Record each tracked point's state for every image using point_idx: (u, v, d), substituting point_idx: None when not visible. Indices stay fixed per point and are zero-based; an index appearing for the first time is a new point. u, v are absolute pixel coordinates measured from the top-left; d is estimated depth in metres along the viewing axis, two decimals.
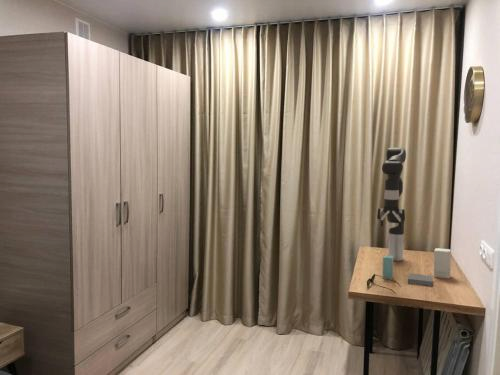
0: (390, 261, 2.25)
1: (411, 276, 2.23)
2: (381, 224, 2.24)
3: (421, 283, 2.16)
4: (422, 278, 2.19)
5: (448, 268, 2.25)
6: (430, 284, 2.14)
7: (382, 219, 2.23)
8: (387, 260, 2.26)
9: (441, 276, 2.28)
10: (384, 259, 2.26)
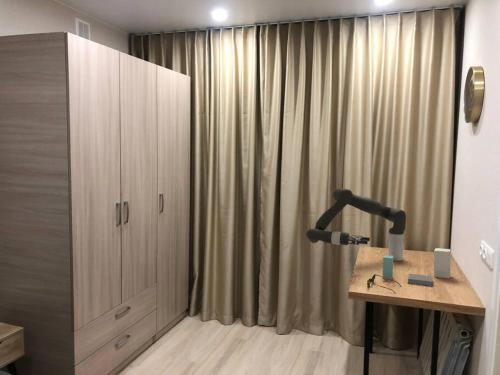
0: (390, 261, 2.25)
1: (411, 276, 2.23)
2: (367, 240, 2.38)
3: (421, 283, 2.16)
4: (422, 278, 2.19)
5: (448, 268, 2.25)
6: (430, 284, 2.14)
7: None
8: (387, 260, 2.26)
9: (441, 276, 2.28)
10: (384, 259, 2.26)
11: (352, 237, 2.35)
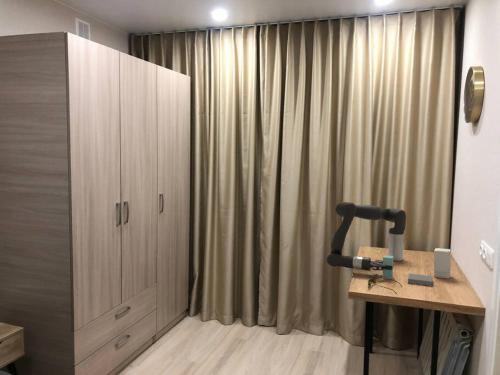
0: (390, 261, 2.25)
1: (411, 276, 2.23)
2: None
3: (421, 283, 2.16)
4: (422, 278, 2.19)
5: (448, 268, 2.25)
6: (430, 284, 2.14)
7: None
8: (387, 260, 2.26)
9: (441, 276, 2.28)
10: (384, 259, 2.26)
11: (375, 262, 2.29)
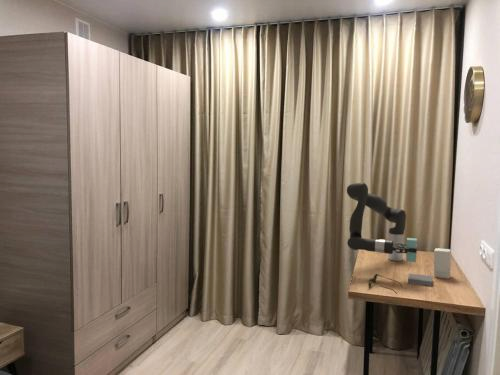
0: (414, 243, 2.18)
1: (411, 276, 2.23)
2: None
3: (421, 283, 2.16)
4: (422, 278, 2.19)
5: (448, 268, 2.25)
6: (430, 284, 2.14)
7: None
8: (411, 242, 2.19)
9: (441, 276, 2.28)
10: (408, 241, 2.19)
11: (398, 245, 2.22)
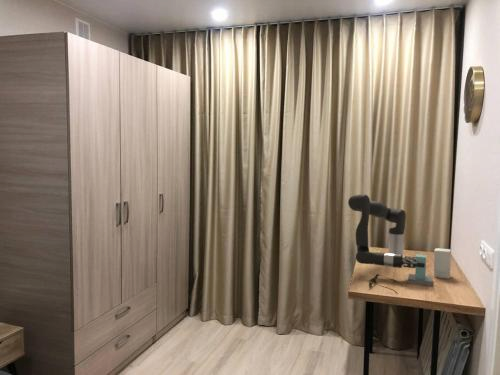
0: (423, 260, 2.17)
1: (411, 276, 2.23)
2: None
3: (421, 283, 2.16)
4: None
5: (448, 268, 2.25)
6: (430, 284, 2.14)
7: None
8: (420, 259, 2.18)
9: (441, 276, 2.28)
10: (417, 258, 2.18)
11: (407, 259, 2.21)
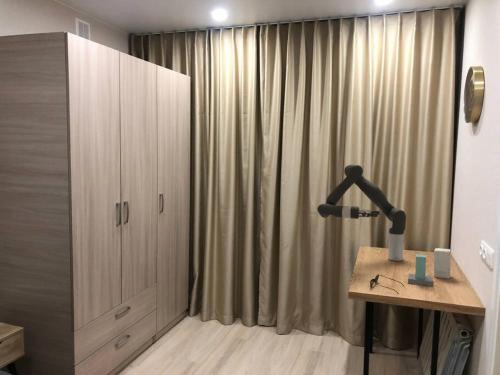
0: (423, 260, 2.17)
1: (411, 276, 2.23)
2: None
3: (421, 283, 2.16)
4: None
5: (448, 268, 2.25)
6: (430, 284, 2.14)
7: None
8: (420, 259, 2.18)
9: (441, 276, 2.28)
10: (417, 258, 2.18)
11: (362, 210, 2.41)
